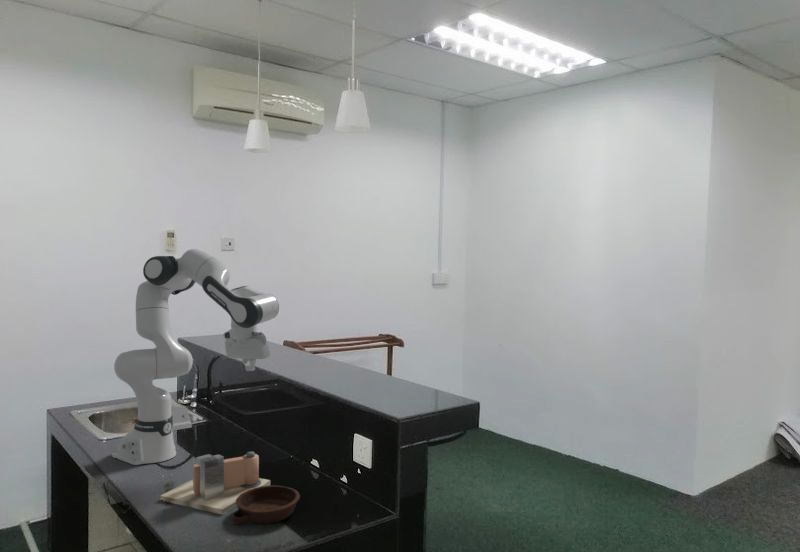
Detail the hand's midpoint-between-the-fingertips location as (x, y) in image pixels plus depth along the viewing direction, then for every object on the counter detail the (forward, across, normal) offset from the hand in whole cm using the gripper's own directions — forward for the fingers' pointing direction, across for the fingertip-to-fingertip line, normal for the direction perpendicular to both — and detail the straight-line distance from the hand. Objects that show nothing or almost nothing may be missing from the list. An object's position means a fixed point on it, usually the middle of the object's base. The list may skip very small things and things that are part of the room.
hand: (250, 370), depth 208 cm
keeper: (+29, -15, +32) cm, 46 cm away
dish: (+34, -35, +28) cm, 56 cm away
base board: (+31, -12, +28) cm, 43 cm away
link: (+29, -15, +26) cm, 42 cm away
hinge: (+26, +57, +1) cm, 63 cm away
